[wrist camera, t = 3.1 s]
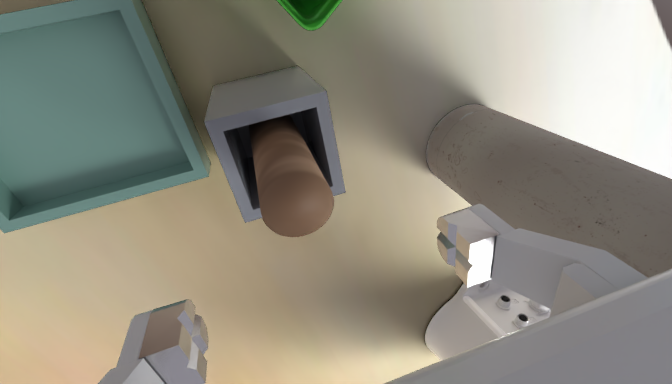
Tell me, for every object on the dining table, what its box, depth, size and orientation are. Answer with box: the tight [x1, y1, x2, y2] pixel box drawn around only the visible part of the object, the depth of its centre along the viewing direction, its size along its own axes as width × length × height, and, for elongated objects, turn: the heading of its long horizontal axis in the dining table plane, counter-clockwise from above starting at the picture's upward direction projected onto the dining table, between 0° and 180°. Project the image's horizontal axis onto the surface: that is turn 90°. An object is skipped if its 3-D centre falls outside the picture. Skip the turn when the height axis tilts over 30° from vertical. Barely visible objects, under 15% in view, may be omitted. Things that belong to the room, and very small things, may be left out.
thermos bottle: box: [426, 104, 672, 278], centre depth 21 cm, size 8×8×28 cm
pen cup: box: [204, 66, 346, 223], centre depth 22 cm, size 6×6×9 cm
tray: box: [0, 0, 211, 233], centre depth 21 cm, size 14×12×2 cm
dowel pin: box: [249, 114, 334, 237], centre depth 20 cm, size 3×3×13 cm
